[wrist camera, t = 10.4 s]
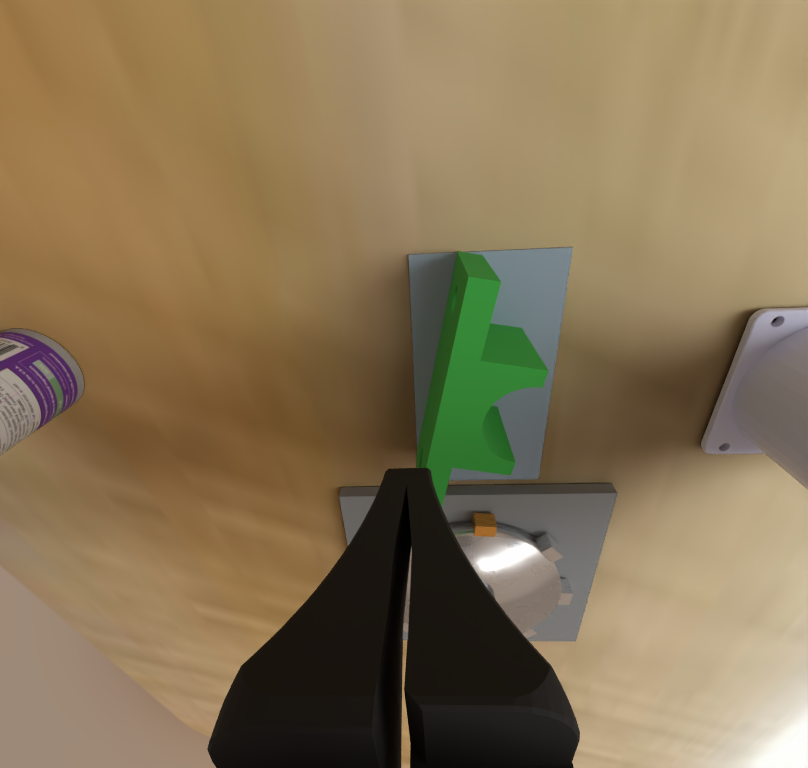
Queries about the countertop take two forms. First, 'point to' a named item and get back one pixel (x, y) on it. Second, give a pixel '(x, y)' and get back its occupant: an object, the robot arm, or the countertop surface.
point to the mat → (515, 306)
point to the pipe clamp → (473, 379)
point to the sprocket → (512, 570)
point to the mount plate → (527, 531)
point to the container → (33, 383)
